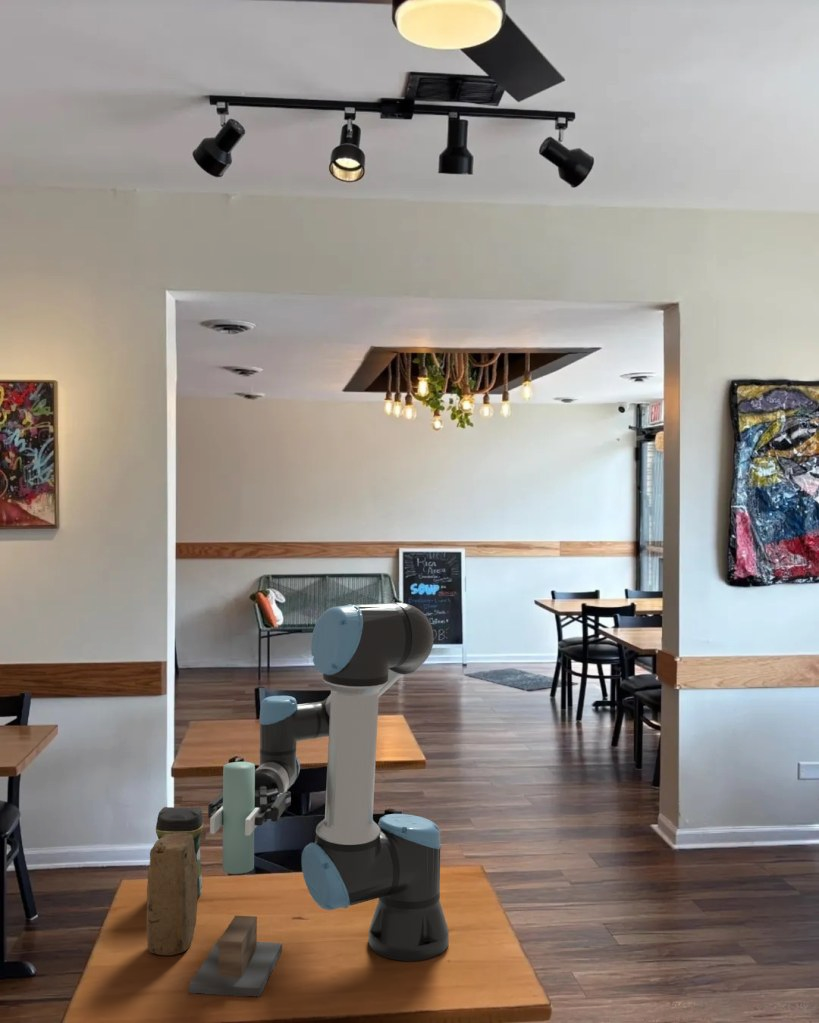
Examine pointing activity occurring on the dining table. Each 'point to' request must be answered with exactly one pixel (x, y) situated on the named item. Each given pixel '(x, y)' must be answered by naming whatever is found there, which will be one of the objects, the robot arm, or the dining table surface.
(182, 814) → the coffee jar
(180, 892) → the block
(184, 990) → the dining table surface
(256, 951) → the ridge stand
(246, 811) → the cylinder
